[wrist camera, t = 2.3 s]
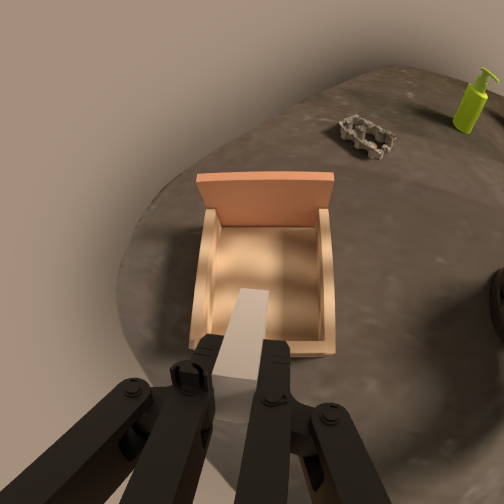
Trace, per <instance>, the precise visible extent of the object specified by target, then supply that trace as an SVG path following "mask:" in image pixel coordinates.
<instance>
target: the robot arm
mask: <svg viewBox="0 0 504 504" xmlns="http://www.w3.org/2000/svg"><path fill="white" fill-rule="evenodd" d="M268 297H269V290H258V289H246V288H241V289H240V292H239V295H238V298H237V301H236V304H235V307H234V310H233V313H232V315H231V318H230V321H229V324H228V327H227V330H226V333H225V336H224V335H216V334H209V333H207V334H206V335H205V336H203V337H202V338H201V339H200V340H199V342H198V345H197V347H196V349H195V351H194V355H193V356H192V358H191V360H183V361H179V362H177V363H175V364H173V366H172V367H171V368H170V374H171V379H172V383H173V385H171V386H167V387H150V386H149V384H148V383H147V382H146V381H145V380H143V379H140V378H129V379H125V380H124V381H122V382H120V383H119V384H118V385H117V386H116V387H115V388H114V389H113V390H112V391H111V392H109V393H108V394H107V395H106V396H105V397H104V398H103V399H102V400H101V401H100V402H99V403H98V404H96V405H95V407H93V408H92V409H91V410H90V411H89V412H88V413H87V414H85V415H84V416H83V417H82V418H81V419H80V420H79V421H78V422H77V423H76V424H75V425H73V426H72V427H71V428H70V429H69V430H68V431H67V432H66V433H65V434H64V435H62V437H60V438H59V439H58V440H57V441H56V442H55V443H54V444H53V445H52V446H51V447H49V448H48V449H47V450H46V451H45V452H44V453H43V454H42V455H40V456H39V457H38V458H37V459H36V460H35V461H34V462H33V463H32V464H31V465H30V466H28V467H27V468H26V469H25V470H24V471H23V472H22V473H21V474H20V475H18V476H17V477H16V478H15V479H14V480H13V481H12V482H10V483H9V484H8V485H7V486H6V487H5V488H4V489H3V490H2V491H1V492H0V504H104V503H105V502H106V501H107V500H108V499H109V497H110V496H111V495H112V494H113V493H114V492H115V491H116V489H117V488H118V487H119V486H120V485H121V484H122V482H123V481H124V480H125V479H126V478H127V477H128V475H129V474H130V473H131V472H132V471H133V470H134V471H133V473H132V475H131V478H130V480H129V482H128V484H127V487H126V489H125V491H124V494H123V496H122V498H121V500H120V503H119V504H192V503H193V500H194V496H195V492H196V489H197V485H198V482H199V478H200V474H201V471H202V467H203V463H204V460H205V457H206V453H207V449H208V446H209V442H210V438H211V435H212V431H213V424H212V422H213V418H214V415H215V419H216V420H222V421H229V422H236V423H244V424H248V429H247V435H246V441H245V446H244V452H243V458H242V463H241V469H240V474H239V480H238V485H237V490H236V495H235V501H234V504H287V494H288V478H289V460H290V453H293V454H296V455H298V456H299V459H300V463H301V466H302V469H303V473H304V476H305V480H306V483H307V486H308V490H309V493H310V497H311V500H312V503H313V504H391V501H390V499H389V497H388V495H387V493H386V491H385V488H384V486H383V484H382V482H381V480H380V478H379V476H378V473H377V471H376V469H375V467H374V465H373V463H372V461H371V459H370V456H369V454H368V452H367V450H366V448H365V446H364V444H363V442H362V440H361V438H360V436H359V433H358V431H357V429H356V427H355V425H354V423H353V421H352V419H351V417H350V415H349V413H348V412H347V410H346V409H345V408H344V407H342V406H341V405H339V404H335V403H323V404H320V405H318V406H317V407H315V408H313V407H310V406H307V405H304V404H301V403H299V402H298V401H296V400H295V399H294V398H293V397H292V395H291V393H290V347H289V346H288V344H287V342H286V341H281V340H269V339H265V333H266V322H267V310H268ZM490 303H491V312H492V317H493V321H494V324H495V327H496V329H497V332H498V333H499V335H500V337H501V338H502V339H503V340H504V268H502V269H501V270H500V271H499V272H498V273H497V274H496V276H495V278H494V280H493V283H492V287H491V296H490ZM134 468H135V469H134Z"/></svg>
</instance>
